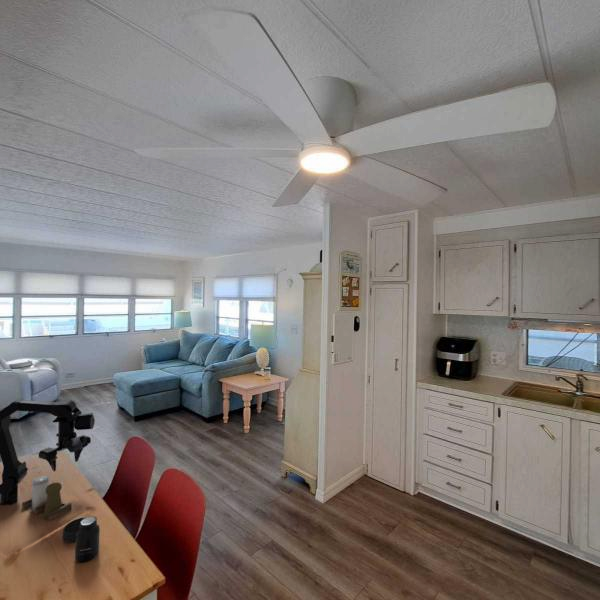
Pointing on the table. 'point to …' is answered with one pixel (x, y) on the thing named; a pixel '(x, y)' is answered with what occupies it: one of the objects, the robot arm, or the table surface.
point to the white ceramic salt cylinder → (39, 491)
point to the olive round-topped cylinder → (53, 498)
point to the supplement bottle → (87, 540)
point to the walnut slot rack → (40, 509)
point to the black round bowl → (71, 530)
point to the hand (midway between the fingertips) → (65, 466)
